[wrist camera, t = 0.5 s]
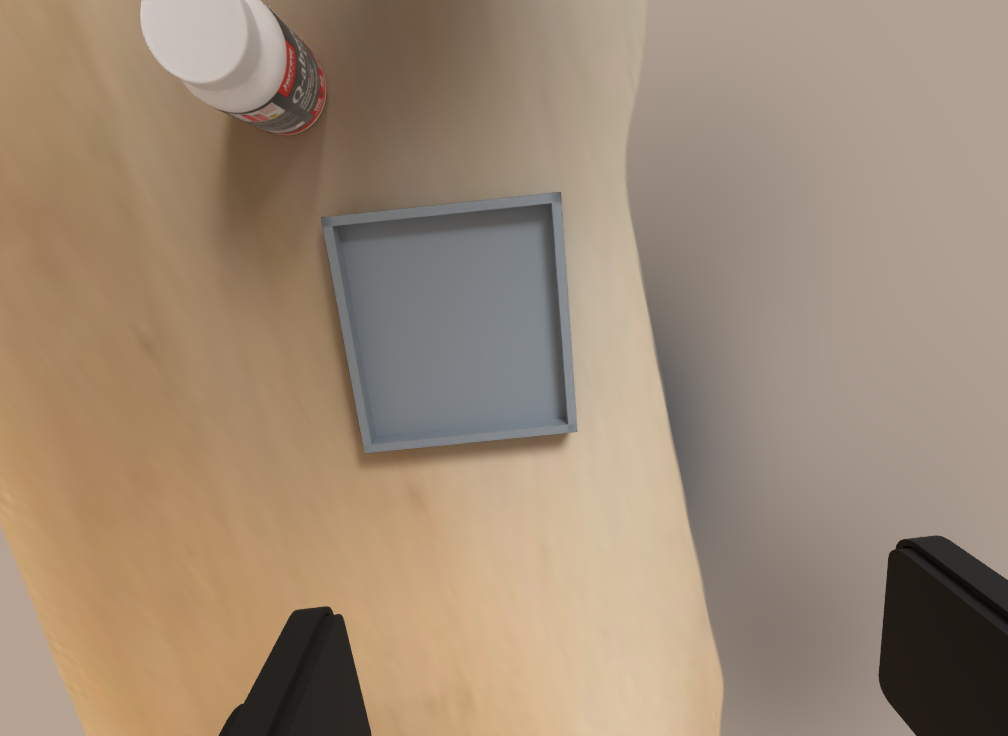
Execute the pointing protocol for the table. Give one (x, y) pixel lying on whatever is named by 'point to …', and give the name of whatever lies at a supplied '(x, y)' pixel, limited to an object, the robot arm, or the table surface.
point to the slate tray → (455, 321)
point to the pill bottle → (237, 60)
